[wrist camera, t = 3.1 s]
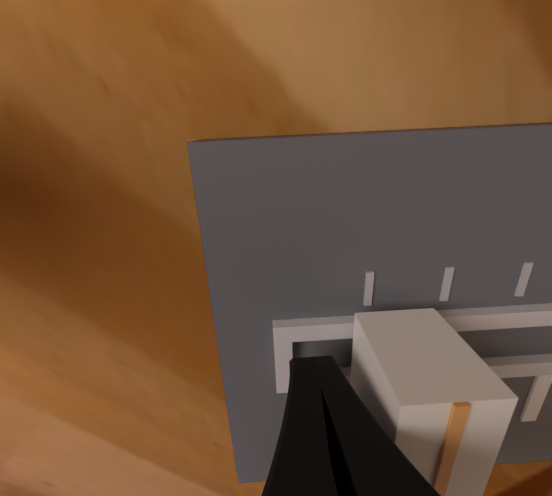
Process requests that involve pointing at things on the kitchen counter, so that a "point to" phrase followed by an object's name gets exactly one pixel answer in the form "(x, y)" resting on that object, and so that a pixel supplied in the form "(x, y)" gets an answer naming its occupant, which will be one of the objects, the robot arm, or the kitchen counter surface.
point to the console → (377, 260)
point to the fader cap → (431, 396)
